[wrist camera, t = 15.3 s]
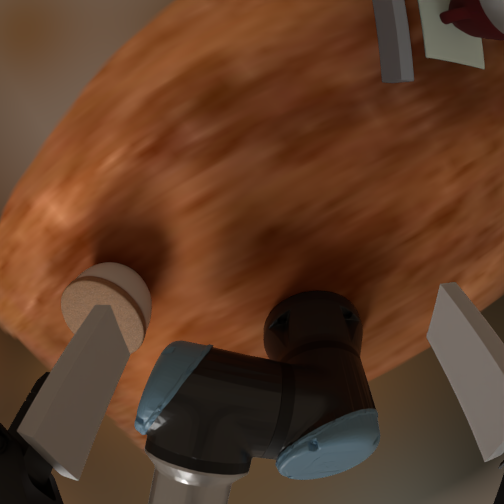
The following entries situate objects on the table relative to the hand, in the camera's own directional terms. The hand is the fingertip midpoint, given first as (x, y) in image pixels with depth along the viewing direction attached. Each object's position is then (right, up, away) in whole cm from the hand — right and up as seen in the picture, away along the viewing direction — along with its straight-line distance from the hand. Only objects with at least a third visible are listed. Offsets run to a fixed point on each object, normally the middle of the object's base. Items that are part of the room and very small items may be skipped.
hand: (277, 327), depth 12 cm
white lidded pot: (-20, -2, +34) cm, 40 cm away
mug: (+25, +33, +15) cm, 44 cm away
